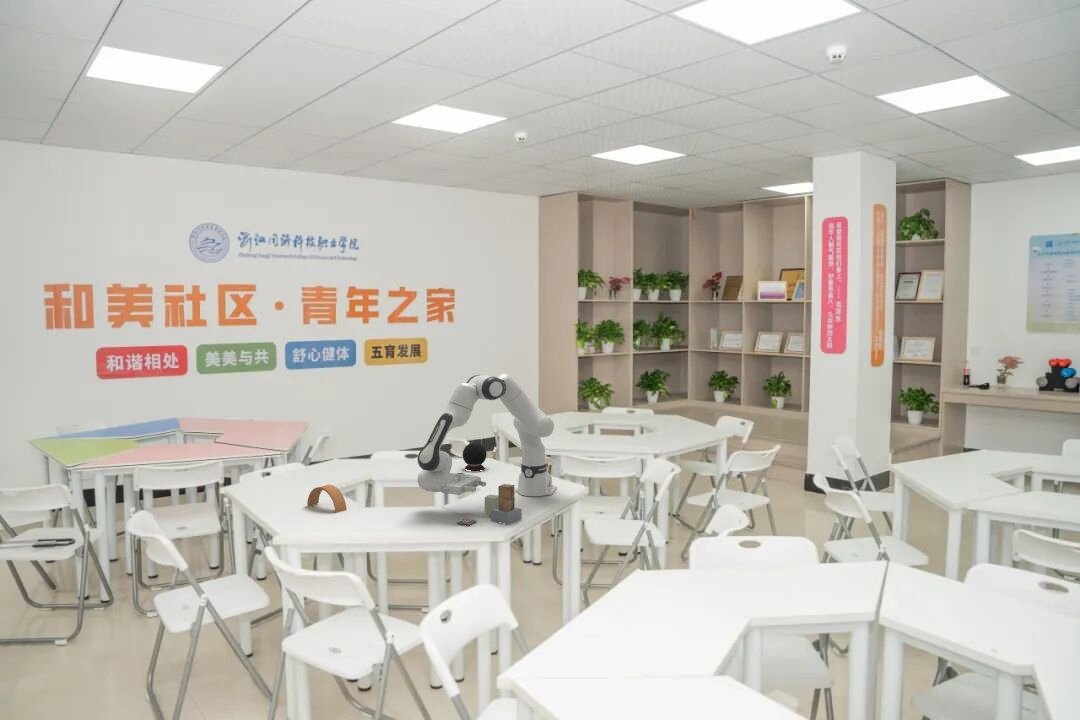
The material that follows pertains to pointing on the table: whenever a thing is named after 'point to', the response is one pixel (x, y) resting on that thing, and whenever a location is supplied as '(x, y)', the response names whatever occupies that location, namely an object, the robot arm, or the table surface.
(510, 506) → the walnut block
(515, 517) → the slate base block
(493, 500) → the sage green block
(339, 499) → the orange brown arch
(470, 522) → the card
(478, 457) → the snow globe
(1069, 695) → the table surface
